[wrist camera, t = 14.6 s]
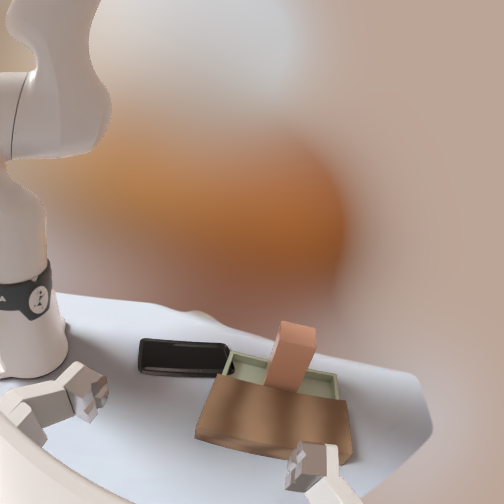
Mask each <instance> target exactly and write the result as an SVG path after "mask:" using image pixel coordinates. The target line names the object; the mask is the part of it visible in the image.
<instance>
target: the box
mask: <svg viewBox="0 0 504 504" xmlns="http://www.w3.org/2000/svg"><path fill="white" fill-rule="evenodd" d="M232 361H233V364H234V367H235V372H234V373H233V374H231V375H227V373H228V370H229V368H230V365H231V362H232ZM268 361H269V360H266V359H262V358H258V357H254V356H250V355H246V354H243V353H239V352H235V351H232V350H231V352H230V354H229V357H228V359H227V362H226V365H225V367H224V370H223V373H222V375H225V376H228V377H232V378H236V379H239V380H243V381H247V382H251V383H255V384H259V385H263V380H264V375H265V370H266V367H267V364H268ZM297 393H301V394H306V395H312V396H318V397H324V398H330V399H337V400H340V399H339V391H338V383H337V376H336V374H333V373H327V372H322V371H316V370H311V369H307V371H306V373H305V376H304V378H303V380H302V382H301V384H300V386H299V389H298V391H297Z"/></svg>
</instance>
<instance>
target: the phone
mask: <svg viewBox="0 0 504 504" xmlns="http://www.w3.org/2000/svg"><path fill="white" fill-rule="evenodd" d="M229 354H230V352H229V348H228V346H227V345H225V344H223V343H206V342H187V341H173V340H160V339H149V338H144V339H141V340H140V345H139V355H138V370H139V371H140V372H141V373H143V374H152V375H165V376H184V377H216V376H217V374H221V375H222V373H223V370H224V367H225V365H226V362H227V359H228V357H229ZM234 372H235V367H234V364H233V361H232V362H231V365H230V368H229V370H228V373H227V375H231V374H233V373H234Z"/></svg>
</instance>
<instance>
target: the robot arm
mask: <svg viewBox="0 0 504 504" xmlns="http://www.w3.org/2000/svg"><path fill="white" fill-rule="evenodd" d="M100 1H101V0H12V2H11V5H10V7H9V10H8V12H7V14H6V28H7V31H8V32H9V34H10V35H11V36H12V37H13V38H14V39H15V40H17V41H18V42H19V43H21V44H23V45H24V46H25V47H27V48H28V49H30V50H31V51H32V53H33V54H34V57H35V61H36V69H35V70H34V71H29V72H0V379H1V378H7V377H17V378H36V377H40V376H43V375H46V374H48V373H50V372H52V371H53V370H55V369H56V368H57V367H58V366H59V365H60V364H61V363H62V362H63V361H64V359H65V357H66V355H67V352H68V340H67V338H66V335H65V332H64V331H65V327H66V323H65V319H64V318H63V317H61V316H60V312H59V307H58V303H57V299H56V294H55V290H54V287H53V286H52V271H51V267H50V261H49V260H48V259H47V244H46V210H45V207H44V205H43V203H42V201H41V200H40V199H39V197H38V196H36V195H35V194H34V193H32V192H31V191H30V190H28V189H26V188H24V187H22V186H21V185H19V184H17V183H15V182H14V181H13V180H12V179H11V178H10V177H9V175H8V172H7V162H8V161H10V160H12V159H58V158H63V157H70V156H75V155H80V154H85V153H89V152H90V151H91V150H93V149H94V148H95V147H96V146H97V144H98V143H99V142H100V141H101V139H102V138H103V136H104V135H105V133H106V131H107V128H108V126H109V122H110V118H111V100H110V96H109V93H108V91H107V89H106V87H105V86H104V84H103V83H102V82H101V81H100V79H99V78H98V76H97V75H96V73H95V71H94V69H93V67H92V63H91V60H90V56H89V45H88V41H89V32H90V27H91V24H92V20H93V18H94V15H95V13H96V10H97V8H98V5H99V3H100ZM106 383H107V380H106V377H105V376H103V375H101V374H99V373H97V372H96V371H94V370H92V369H90V368H88V367H87V366H85V365H83V364H82V363H80V362H78V361H76V362H73V363H72V364H71V365H70V366H69V367H68V368H67V369H66V370H65V371H64V372H63V373H62V374H61V375H60V376H59V377H58V378H57V379H56V380H55V381H53V380H50V381H45V382H41V383H36V384H32V385H27V386H22V387H17V388H12V389H10V390H9V391H8V392H7V393H5V394H4V395H3V396H2V397H1V398H0V504H135V503H133V502H131V501H129V500H127V499H125V498H122V497H120V496H118V495H116V494H114V493H112V492H110V491H108V490H107V489H105V488H103V487H101V486H99V485H97V484H96V483H94V482H92V481H90V480H89V479H87V478H85V477H84V476H82V475H80V474H79V473H77V472H76V471H74V470H72V469H71V468H69V467H68V466H66V465H65V464H63V463H62V462H61V461H59V460H58V459H56V458H55V457H53V456H52V455H51V454H49V453H48V452H47V451H45V450H44V449H43V448H42V446H43V445H44V444H45V442H46V441H47V440H48V439H47V436H46V434H45V432H44V431H43V429H42V428H45V427H47V426H50V425H52V424H55V423H58V422H60V421H63V420H65V419H68V418H70V417H73V416H75V415H76V416H78V417H80V418H81V419H83V420H85V421H87V422H88V423H91V422H92V421H93V419H94V418H95V417H96V415H97V414H98V412H97V409H98V408H102V407H103V406H104V405H105V403H106V401H107V399H108V394H109V392H108V388H107V387H106V385H105V384H106ZM287 469H288V471H289V472H290V473H289V475H288V476H287V477H286V483H285V490H288V491H296V492H304V494H305V496H306V498H307V499H308V501H309V503H310V504H364V503H363V502H362V501H361V500H360V498H359V497H358V496H357V495H356V494H355V492H354V491H353V490H352V489H351V487H350V486H349V485H348V483H347V482H346V481H345V480H344V478H342V477H340V474H339V456H338V447H337V445H333V444H324V443H316V442H308V441H300V442H299V443H298V444H297V449H294V450H293V451H292V452H291V454H290V457H289V459H288V464H287Z"/></svg>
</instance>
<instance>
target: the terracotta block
mask: <svg viewBox="0 0 504 504" xmlns="http://www.w3.org/2000/svg"><path fill="white" fill-rule="evenodd" d="M315 350H316V335H315V328H311V327H306V326H302V325H298V324H294V323H289V322H286V321H282V322H281V325H280V328H279V332H278V334H277V337H276V340H275V343H274V346H273V349H272V352H271V355H270V358H269V361H268V364H267V367H266V370H265V375H264V380H263V386H268V387H272V388H276V389H281V390H286V391H291V392H296V393H297V391H298V389H299V386H300V384H301V382H302V380H303V378H304V376H305V373H306V371H307V369H308V367H309V364H310V362H311V360H312V358H313V355H314V353H315Z"/></svg>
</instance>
